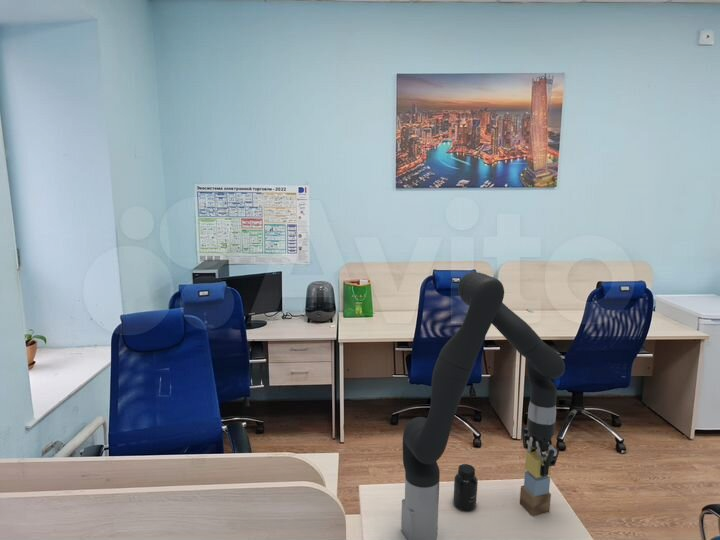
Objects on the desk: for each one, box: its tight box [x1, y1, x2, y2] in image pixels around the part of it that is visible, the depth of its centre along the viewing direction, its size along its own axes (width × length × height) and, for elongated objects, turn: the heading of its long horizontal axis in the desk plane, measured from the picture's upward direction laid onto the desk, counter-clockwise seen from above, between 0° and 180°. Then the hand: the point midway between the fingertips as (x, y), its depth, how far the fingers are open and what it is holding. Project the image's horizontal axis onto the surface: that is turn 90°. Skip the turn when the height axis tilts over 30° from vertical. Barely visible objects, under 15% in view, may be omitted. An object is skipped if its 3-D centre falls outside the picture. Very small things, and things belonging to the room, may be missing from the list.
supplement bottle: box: [452, 463, 478, 512], centre depth 150 cm, size 7×7×12 cm
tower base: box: [519, 484, 552, 517], centre depth 149 cm, size 6×6×6 cm
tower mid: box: [523, 470, 551, 497], centre depth 148 cm, size 5×5×5 cm
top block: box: [524, 450, 552, 478], centre depth 147 cm, size 5×5×5 cm
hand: (537, 470), depth 147 cm, fingers closed on top block, 5 cm apart
